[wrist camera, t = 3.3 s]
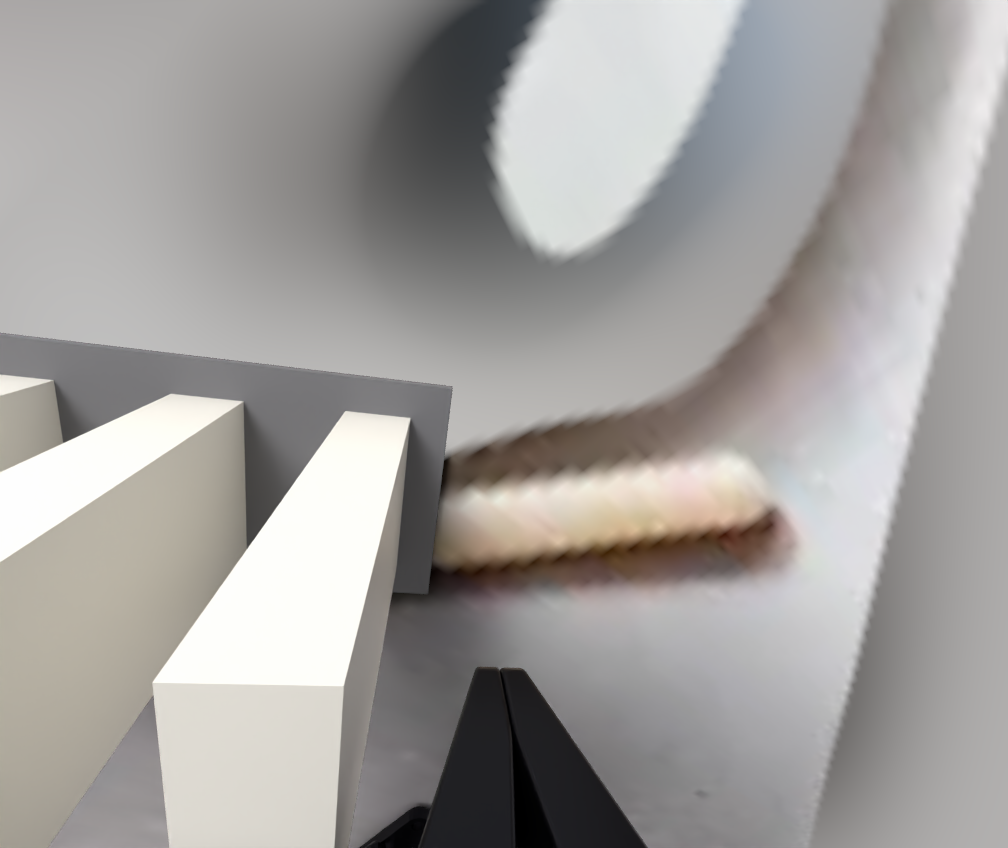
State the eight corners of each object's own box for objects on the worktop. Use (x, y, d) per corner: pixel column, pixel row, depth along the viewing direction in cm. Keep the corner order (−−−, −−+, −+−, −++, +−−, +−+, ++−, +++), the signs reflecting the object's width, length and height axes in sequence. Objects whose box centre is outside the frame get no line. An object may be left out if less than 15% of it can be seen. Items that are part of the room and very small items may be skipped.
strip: (452, 386, 13) (452, 389, 13) (428, 588, 16) (428, 593, 15) (-566, 265, 10) (-596, 265, 10) (-419, 545, 12) (-440, 551, 12)
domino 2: (396, 566, 15) (326, 969, 6) (338, 562, 14) (183, 978, 6) (410, 418, 13) (343, 686, 5) (345, 411, 13) (151, 682, 5)
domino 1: (246, 558, 14) (-57, 999, 6) (182, 555, 14) (-238, 1011, 5) (243, 401, 13) (-179, 679, 4) (170, 393, 12) (-442, 675, 4)
